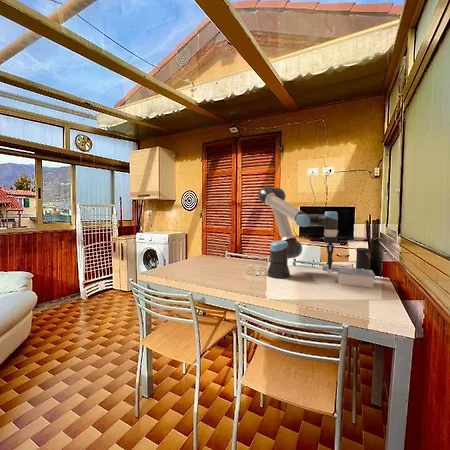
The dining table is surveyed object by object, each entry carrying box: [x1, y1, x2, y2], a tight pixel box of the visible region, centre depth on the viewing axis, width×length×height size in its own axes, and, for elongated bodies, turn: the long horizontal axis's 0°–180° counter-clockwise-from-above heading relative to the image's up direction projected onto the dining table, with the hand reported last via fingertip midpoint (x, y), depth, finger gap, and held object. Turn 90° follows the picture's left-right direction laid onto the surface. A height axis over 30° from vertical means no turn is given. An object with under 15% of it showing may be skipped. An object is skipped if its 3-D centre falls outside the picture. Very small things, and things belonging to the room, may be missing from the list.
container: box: [355, 247, 372, 270], centre depth 164 cm, size 9×9×20 cm
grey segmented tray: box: [322, 265, 376, 278], centre depth 151 cm, size 28×13×2 cm, turn 66°
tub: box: [337, 273, 375, 289], centre depth 149 cm, size 18×12×7 cm, turn 66°
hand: (329, 272), depth 155 cm, fingers open, 6 cm apart
